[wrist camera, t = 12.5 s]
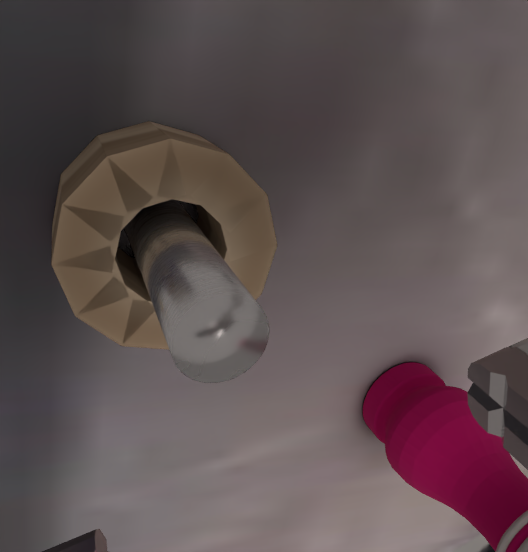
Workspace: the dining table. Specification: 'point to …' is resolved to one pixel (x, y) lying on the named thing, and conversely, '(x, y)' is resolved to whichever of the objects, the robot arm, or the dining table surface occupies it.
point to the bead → (139, 194)
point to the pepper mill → (449, 453)
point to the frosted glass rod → (196, 296)
